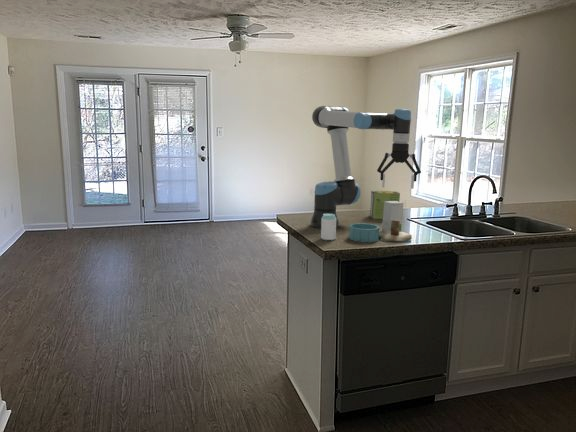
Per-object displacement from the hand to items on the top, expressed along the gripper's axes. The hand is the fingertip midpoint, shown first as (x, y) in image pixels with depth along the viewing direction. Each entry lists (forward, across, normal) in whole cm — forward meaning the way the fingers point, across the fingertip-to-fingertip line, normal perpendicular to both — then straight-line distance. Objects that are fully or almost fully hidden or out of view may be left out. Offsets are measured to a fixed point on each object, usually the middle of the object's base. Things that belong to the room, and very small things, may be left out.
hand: (397, 187), depth 228 cm
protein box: (+25, -1, +53) cm, 58 cm away
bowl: (+25, -15, -4) cm, 29 cm away
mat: (+25, 0, 0) cm, 25 cm away
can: (+25, -32, -9) cm, 41 cm away
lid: (+24, 0, 0) cm, 24 cm away
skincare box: (+25, 0, +15) cm, 29 cm away
